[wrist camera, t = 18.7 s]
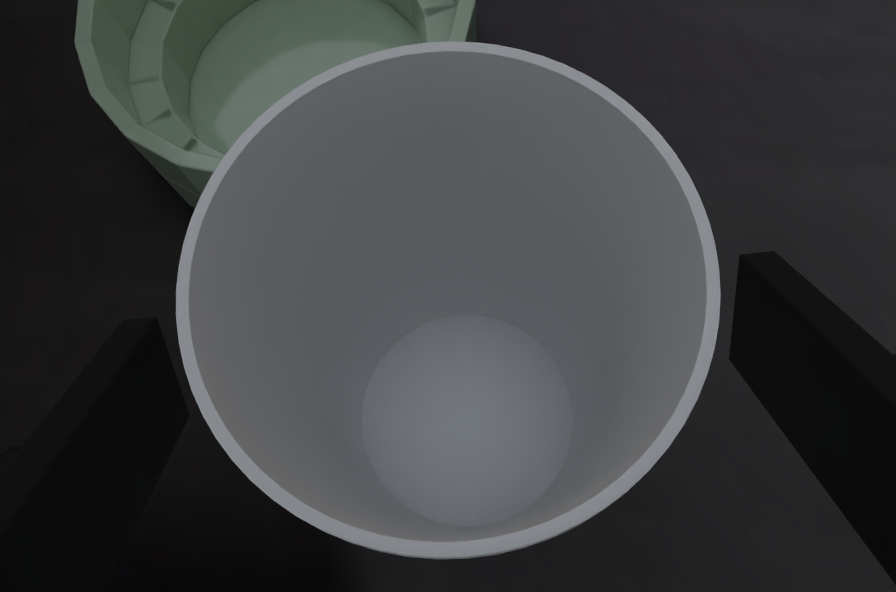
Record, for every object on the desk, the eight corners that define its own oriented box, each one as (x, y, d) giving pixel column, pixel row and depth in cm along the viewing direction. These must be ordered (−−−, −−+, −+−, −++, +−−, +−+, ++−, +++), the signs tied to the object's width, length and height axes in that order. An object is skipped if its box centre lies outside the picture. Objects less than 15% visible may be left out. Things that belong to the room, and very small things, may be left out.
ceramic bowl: (86, 149, 30) (-7, 62, 24) (274, -79, 33) (230, -202, 28) (360, 306, 27) (328, 249, 21) (534, 39, 31) (546, -71, 25)
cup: (330, 505, 25) (90, 484, 10) (386, 292, 27) (264, 5, 12) (557, 559, 24) (689, 630, 9) (594, 334, 26) (749, 80, 11)
